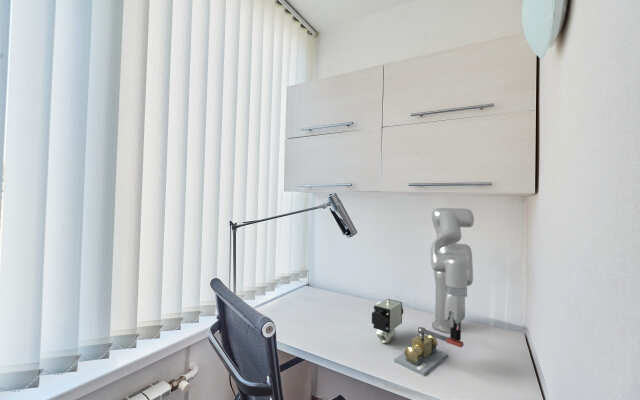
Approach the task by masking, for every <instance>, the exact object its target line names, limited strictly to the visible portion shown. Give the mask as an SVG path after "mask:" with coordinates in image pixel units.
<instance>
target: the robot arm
mask: <svg viewBox="0 0 640 400" xmlns="http://www.w3.org/2000/svg"><path fill="white" fill-rule="evenodd" d="M431 221H432V225H433V227H434V230H435V233H436V239H435V240H434V241H433V242H432V244H431V247H430V266H431V268H432V270H433V274H434V275H433V276H434V284H435V306H434V307H435V308H434V310H435V317H434V319H435V320H434V321H432V323H431V327H432V328H433V329H435V330H436V331H438V332H442V333H444V334H445V333H447V334H449V335H450V336H449V337H450V338H453V339H456V340H459V341H462V336H461V334H462V333H461V332H462V330H461V329H462V321H463V320H464V319H465V317H466V298H467V297H468V286H472V284H473V280H474V269H473V268H474V267H473V266H474V265H473V252H472V248H471V246H470V245H468V244H467V243H459V242H460V241H461V239H462V229H461V228H472V227H473V226H474V223H475V216H474V213H473V212H472V210H470V209H468V208H457V207H454V208H453V207H438V208H434V209H433V210H432V211H431Z"/></svg>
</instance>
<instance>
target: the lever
mask: <svg viewBox="0 0 640 400" xmlns="http://www.w3.org/2000/svg"><path fill="white" fill-rule="evenodd" d="M417 332H418V334H419V333H421V334H424V335H425V336H427V335H429V336H432V337H435V338H436V340H437V339H438V340H441V341H444V342H446V343H447V344H449V345H451V346H452V345H453V346H455V347H458V348H463V346H464V341H462V340H460V341H459V340H456V339H453V338H450V336H449V337H448V336H445V335H442V334H441V333H440V334H439V333H437V332H433V331H431V330H428V329H426V328H425V327H423V326H419V327H418V328H417Z"/></svg>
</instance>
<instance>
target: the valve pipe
mask: <svg viewBox="0 0 640 400" xmlns="http://www.w3.org/2000/svg"><path fill="white" fill-rule="evenodd" d="M418 334H419V335H417V336H415V337H413V338H412V339H411V346H408V347H406V348H405V349H404V352H403V353H405V357H406V361H408V362H410V363H412V364H415V365H417V366H419V365H420V364H422V357H424V358H425V357H426V356H427V355H429V354H432V355H434V354H435V353H436V350H437V347H438V340H437V338H435V337H432V336H429V335H425V334H421V333H419V332H418Z"/></svg>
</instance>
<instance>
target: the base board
mask: <svg viewBox="0 0 640 400" xmlns="http://www.w3.org/2000/svg"><path fill="white" fill-rule="evenodd" d="M447 358H448V353H446V352H444V351H443V350H442V351H441V350H438V349H436V353H435V354H434V355H432V354H429V355H427V356H426V357H425V358H424V357H422V364H420V365H419V366H417V365H415V364H412V363H410V362H408V361H406V357H405V353H404V352H402V353H401V354H399V355H398V356H396V357H395V358H393V362H394V363H396V364H398V365H401V366H402V367H405V368H407V369H409V370H411V371H413V372H415V373H417V374H419V375H422V376H423V377H424V376H426V375H427V374H428V373H430V372H431V371H432V370H433V369H434V368H436V367H437V366H438V365H439V364H440V363H442V362H443V361H444V360H445V359H447Z"/></svg>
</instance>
